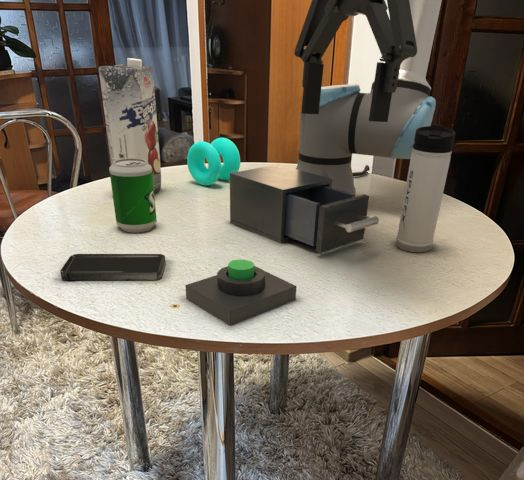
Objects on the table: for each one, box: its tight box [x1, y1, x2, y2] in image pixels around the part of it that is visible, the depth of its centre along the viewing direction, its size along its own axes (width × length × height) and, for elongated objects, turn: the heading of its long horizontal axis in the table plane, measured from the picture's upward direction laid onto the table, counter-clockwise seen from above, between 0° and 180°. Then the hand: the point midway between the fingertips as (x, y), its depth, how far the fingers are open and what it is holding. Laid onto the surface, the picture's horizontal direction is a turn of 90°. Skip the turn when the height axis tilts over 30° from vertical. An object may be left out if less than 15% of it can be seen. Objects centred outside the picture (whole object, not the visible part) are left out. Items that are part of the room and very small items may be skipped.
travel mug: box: [395, 123, 456, 253], centre depth 87 cm, size 6×7×20 cm
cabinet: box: [229, 164, 332, 244], centre depth 97 cm, size 15×13×10 cm
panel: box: [185, 265, 297, 326], centre depth 72 cm, size 12×10×4 cm
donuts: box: [186, 137, 241, 186], centre depth 124 cm, size 10×10×10 cm
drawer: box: [284, 185, 380, 254], centre depth 90 cm, size 18×11×8 cm, turn 42°
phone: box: [59, 253, 167, 281], centre depth 80 cm, size 8×1×15 cm
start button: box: [227, 258, 255, 280], centre depth 70 cm, size 4×4×2 cm
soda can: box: [108, 158, 158, 233], centre depth 94 cm, size 8×8×12 cm
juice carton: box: [98, 57, 162, 194], centre depth 109 cm, size 9×10×27 cm
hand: (341, 117), depth 70 cm, fingers open, 13 cm apart
